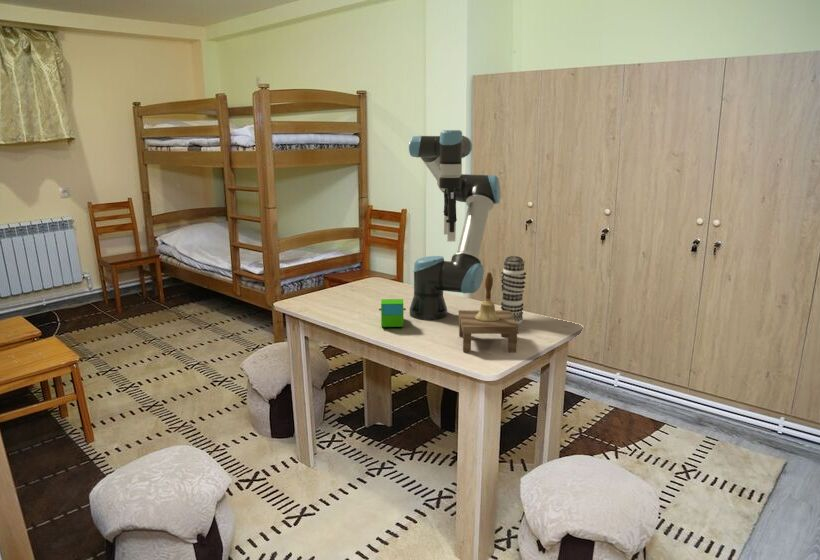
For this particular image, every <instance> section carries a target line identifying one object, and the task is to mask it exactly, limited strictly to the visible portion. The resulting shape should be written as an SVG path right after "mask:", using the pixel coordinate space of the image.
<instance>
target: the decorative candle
mask: <svg viewBox="0 0 820 560" xmlns="http://www.w3.org/2000/svg"><path fill="white" fill-rule="evenodd" d="M502 262H503V263H504V264H503V270H502V271H501V274H502V275H501V283H502V284H501V292H502V297H501V302H500V305H501V306H500V310H505V311H510V313H511V314H512V316H513V318H514V320H515V321H516V323H517V325H519V324H522V323H523V318H524V317H523V315H524V312H523V311H524V307H523V306H524V303H523V302H524V299H523V298H524V296H523V295H524V292H525V291H524V289H525V284H526V282H525V281H524V280H526V275H527V272H525V262H526V261H525V260H523V258H522V257H521V256H515V255H509V256H507V257H506V258H505V259H504V260H503V261H502Z"/></svg>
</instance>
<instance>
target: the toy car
mask: <svg viewBox="0 0 820 560" xmlns="http://www.w3.org/2000/svg"><path fill="white" fill-rule="evenodd" d="M380 307H381V308H379V309H378V311H380V313H381V314H380V316H381V317H380V319H381V325H380V326H381V328H382V329H385V328H386V327H387V328H390V327H391V328H392V327H393V328H394V327H397V328H398V327H399V328H400V327H401V329H402V328H404V311H406V310H407V308H405V307H404V298H396V299H395V298H387V299H386V298H385V299H384V298H383V299H382V298H381V304H380Z"/></svg>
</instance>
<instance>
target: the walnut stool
mask: <svg viewBox="0 0 820 560" xmlns="http://www.w3.org/2000/svg"><path fill="white" fill-rule="evenodd" d="M479 311H480V309H479V310H476V309H475V310H472V309H471V310H470V309H469V310H461V309H460V310H458V321H459V322H458V325H459V326H458V327H459V328H458V336H459V337H460V338H462V352H463V353H471V352H472V334H477V335H481V334H482V335H484V334H485V335H487V334H488V335H491V334H492V335H493V334H494V335H495V334H496V335H497V334H498V335H500V336H501V337H502V338H507V339H508V340H507V351H508V353H517V346H518V345H517V342H518V340H517V339H518V334H519V324H517V323H516V321H515V320H514V318H513V316H512V314H511V313H510V311H505V310H502V309H500V310H498V309H497V310H496V309H495V312H496V314H497V315H498V316H499V320H498V321H494V322H484V321H479V320H477V319H475V316H476V315H477V314H478V312H479Z"/></svg>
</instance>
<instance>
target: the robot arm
mask: <svg viewBox="0 0 820 560" xmlns="http://www.w3.org/2000/svg"><path fill="white" fill-rule="evenodd" d="M439 133H440V134H439V135H417V136H415V135H413V136H412V137H410V139H409V141H408V153H409V155H410V156H411V157H413V158H420V159H421V161H422V162H423V163H424V164H425V166H426V167H427V169H428V170H429V171H430V173H431V174H432V176H433V177H434V178H435V180H436V184H437V187H438V189H439V190H440V192H442V193H443V203H444V204H443V215H444V217H443V235H444V236H446V235H447V241H446V242H456V239H457V238H456V235H457V233H456V229H457V226H456V225H457V224H456V222H457V220H458V219H457V202H460V203H465V204H466V206H467V211H466V214H465V219H464V223H463V228H462V230H461V234H460V238H459V243H458V248H457V252H456V253H455V254H453V255H452V257H451V259H450V261H449V260H448V261H447V260H445V258H444V256H440V255H431V256H425V257H420V258H417V259H416V260H415V262H414V263H413V266H414V267H413V297H412V301H411V303H410V306H409V315H410V317H412V318H415V319H418V320H430V321H431V320H439V319H443V318H446V317H447V316H448V307H447V304H446V301H445V298H444V292H451V293H452V292H453V293H463V294H474V293H477V292H478V291H479V289H480V287H481V285H482V283H483V279H484V272H485V270H484V266H483V264H482V262H481V259H480V258H479V256H480V250H481V247H482V243H483V238H484V234H485V229H486V225H487V221H488V217H489V213H490V211H492V210H493V209H494V206H495V204H496V205H497V204H500V201H501V186H500V179H499V177H498V176H497V175H494V174H493V175H492V174H466V173H465V174H464V173H462V172H463V171H462V170H463V168H462V167H463V164H462V161H463V160H462V159H464V158H466V157H467V156H469V155H471V152H472V149H473V143H472V140H471V139H470V138H469V137H468V136H465V135H463V131H462V130H460V129H453V130H452V129H444V130H443V129H442V130H441V131H440V132H439Z"/></svg>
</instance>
